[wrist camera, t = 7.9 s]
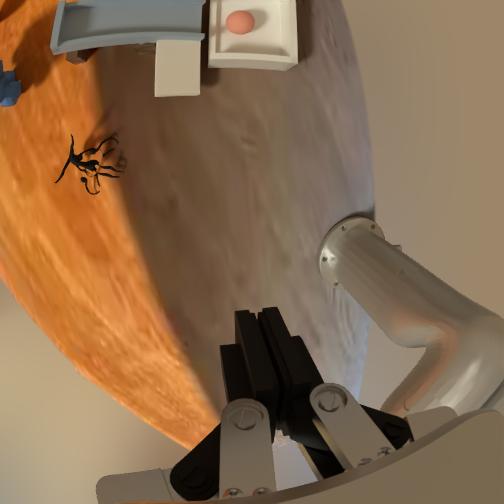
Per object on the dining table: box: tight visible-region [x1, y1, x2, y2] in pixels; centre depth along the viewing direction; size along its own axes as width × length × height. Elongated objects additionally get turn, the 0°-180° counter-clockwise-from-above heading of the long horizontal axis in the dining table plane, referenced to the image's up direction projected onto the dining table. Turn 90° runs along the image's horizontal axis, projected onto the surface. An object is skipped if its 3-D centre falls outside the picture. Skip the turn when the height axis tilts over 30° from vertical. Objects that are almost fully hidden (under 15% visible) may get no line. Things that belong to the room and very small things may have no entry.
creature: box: [55, 134, 122, 195], centre depth 28 cm, size 8×5×8 cm
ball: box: [226, 10, 255, 35], centre depth 24 cm, size 4×4×4 cm
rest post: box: [66, 49, 87, 65], centre depth 21 cm, size 2×5×3 cm, turn 0°
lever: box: [50, 0, 206, 97], centre depth 20 cm, size 17×13×4 cm
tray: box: [208, 0, 298, 71], centre depth 24 cm, size 10×12×4 cm
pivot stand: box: [135, 43, 156, 55], centre depth 22 cm, size 2×7×5 cm, turn 0°
